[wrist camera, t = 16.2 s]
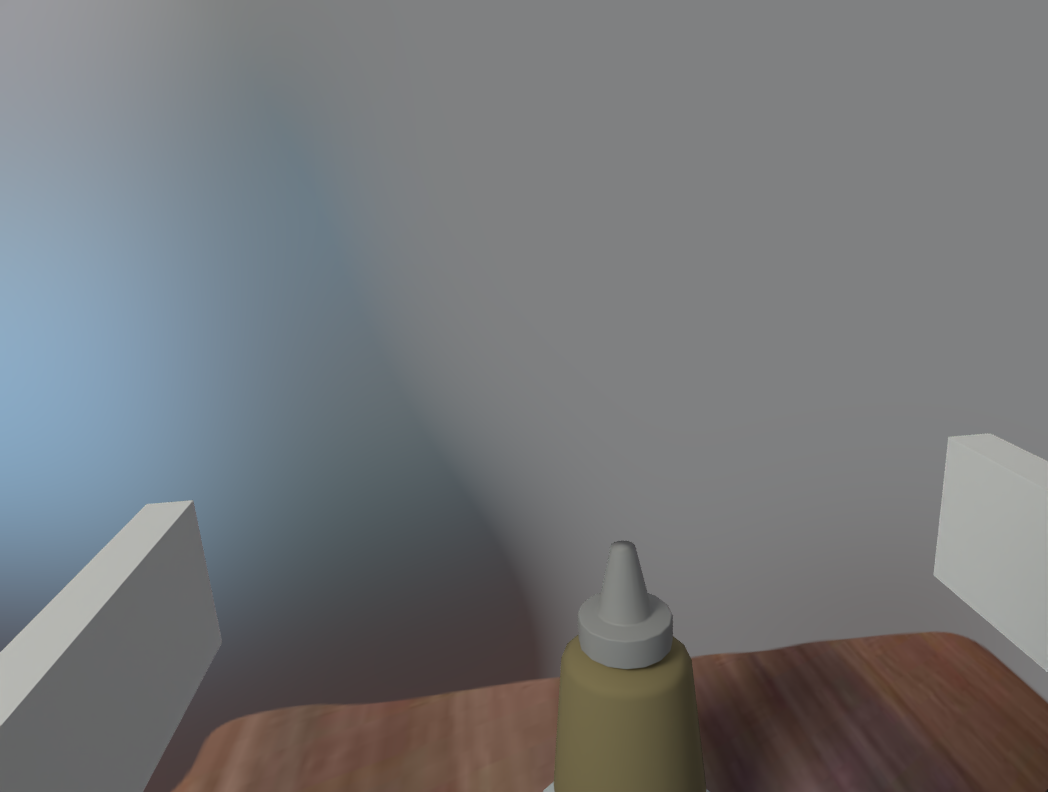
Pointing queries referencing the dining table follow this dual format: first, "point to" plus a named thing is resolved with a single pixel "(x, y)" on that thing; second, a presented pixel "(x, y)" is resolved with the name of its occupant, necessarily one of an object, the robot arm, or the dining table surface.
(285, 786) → the dining table surface
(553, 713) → the dining table surface
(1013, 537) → the robot arm
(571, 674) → the squeeze bottle
